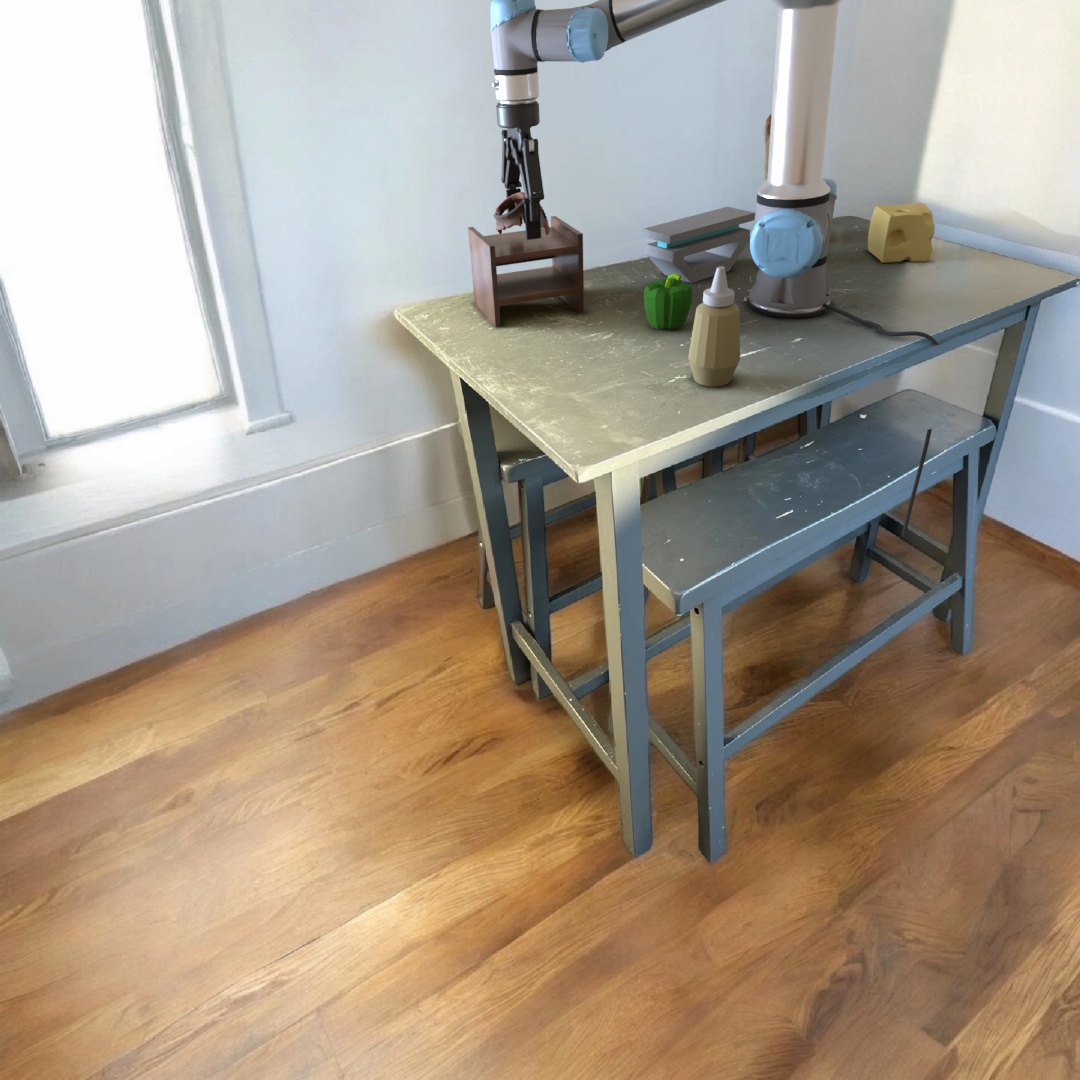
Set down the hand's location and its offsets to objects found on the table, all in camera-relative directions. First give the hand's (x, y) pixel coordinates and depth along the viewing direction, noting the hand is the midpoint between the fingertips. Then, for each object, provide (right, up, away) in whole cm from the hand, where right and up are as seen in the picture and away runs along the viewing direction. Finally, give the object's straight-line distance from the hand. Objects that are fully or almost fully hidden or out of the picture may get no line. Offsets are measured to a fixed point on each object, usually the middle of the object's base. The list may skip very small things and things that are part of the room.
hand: (524, 231), depth 161 cm
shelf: (+1, -12, +8) cm, 15 cm away
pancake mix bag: (+60, +12, +39) cm, 72 cm away
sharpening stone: (+37, -1, +22) cm, 43 cm away
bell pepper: (+26, -19, -3) cm, 33 cm away
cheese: (+81, +4, +26) cm, 85 cm away
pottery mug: (0, 0, 0) cm, 0 cm away
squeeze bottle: (+31, -33, -24) cm, 51 cm away
